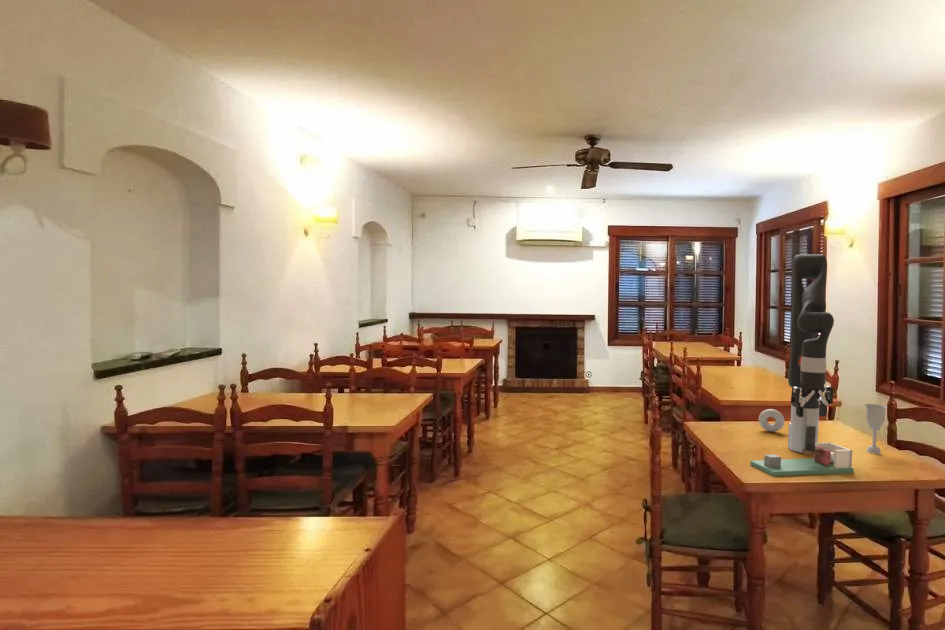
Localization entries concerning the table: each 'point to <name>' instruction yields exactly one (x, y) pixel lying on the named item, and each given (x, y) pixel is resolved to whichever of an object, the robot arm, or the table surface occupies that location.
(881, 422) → the chalice
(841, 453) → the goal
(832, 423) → the table surface
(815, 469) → the playfield
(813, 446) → the slider rod
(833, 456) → the ball
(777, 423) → the donut
